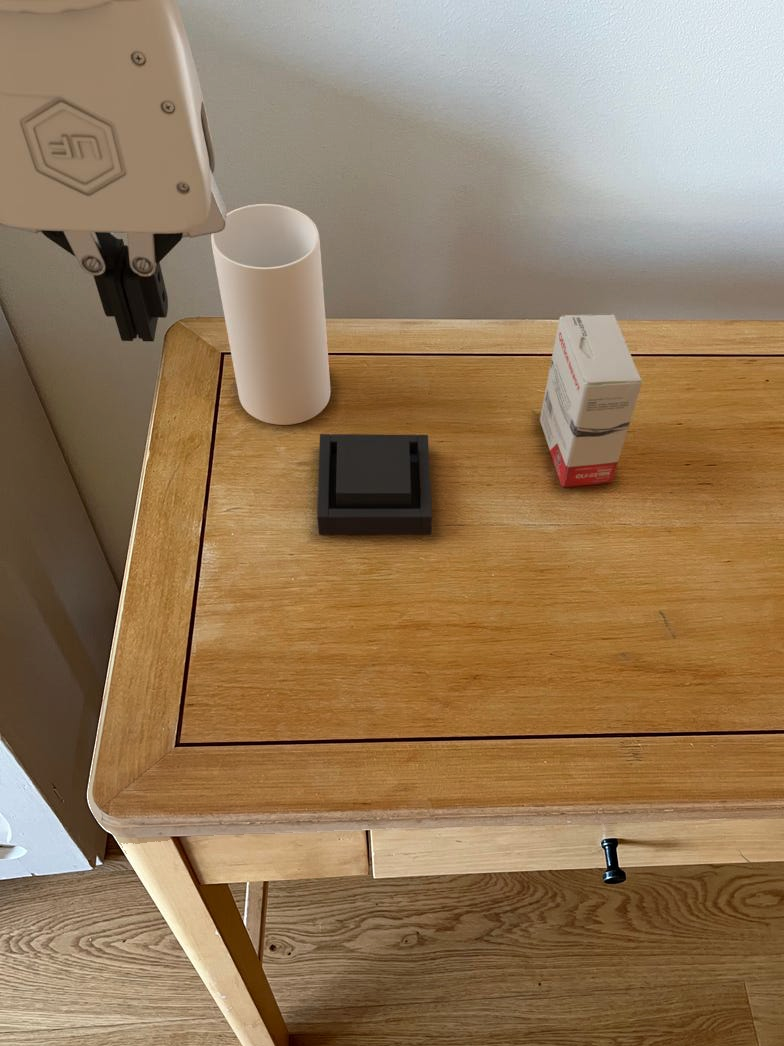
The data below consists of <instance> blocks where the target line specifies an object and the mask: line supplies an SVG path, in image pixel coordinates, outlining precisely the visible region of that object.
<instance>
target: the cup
mask: <svg viewBox="0 0 784 1046" xmlns="http://www.w3.org/2000/svg"><path fill="white" fill-rule="evenodd" d="M210 235H211V236H210V238H211V239H210V241H211V242H210V243H211V248H212V254H213V259H214V266H215V271H216V276H217V282H218V287H219V288H218V289H219V293H220V294H219V295H220V298H221V299H220V300H221V305H222V309H223V310H222V311H223V316H224V321H225V327H226V333H227V338H228V344H229V350H230V355H231V360H232V366H233V371H234V377H235V382H236V383H235V384H236V389H237V394H238V399H239V402H240V404H241V406H242V408H243V409H244V411H246V412H247V414H248V415H250V416H251V417H252V418H254V419H256V420H258V421H261V422H263V423H266V424H271V425H276V426H277V425H278V426H279V425H280V426H289V425H297V424H300V423H303V422H306V421H308V420H311V419H313V418H315V417H316V416H318V415H320V413H322V412H323V410H324V409H325V408H326V407H327V405H328V403H329V401H330V398H331V379H330V377H331V376H330V364H329V363H330V362H329V349H328V338H327V337H328V335H327V323H326V308H325V307H326V306H325V295H324V279H323V268H322V267H323V266H322V255H321V254H322V253H321V241H320V240H321V239H320V234H319V229H318V226H317V225H316V224H315V222H314V220H312V219H311V218H310V217H309V216H308V215H306V214H305V213H303V212H302V211H300V210H297V209H295V208H293V207H289V206H286V205H282V204H281V205H280V204H275V203H274V204H273V203H258V204H250V205H245V206H241V207H238V208H236V209H233V210H231V211H229V212H227V216H226V224H225V228H224V229H223V231H221V232H218V233H213V234H210Z"/></svg>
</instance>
